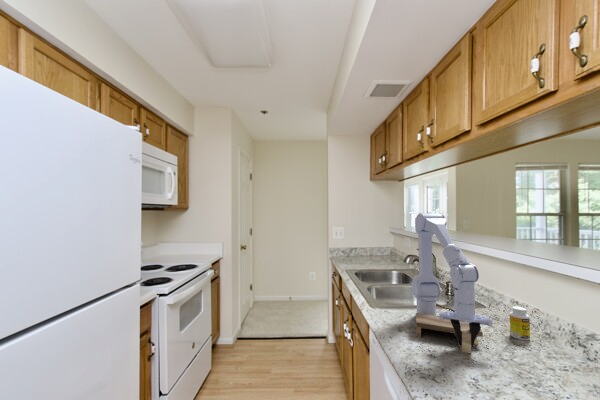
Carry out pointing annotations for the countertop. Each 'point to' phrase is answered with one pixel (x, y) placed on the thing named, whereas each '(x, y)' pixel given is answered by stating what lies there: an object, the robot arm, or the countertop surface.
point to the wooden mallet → (465, 340)
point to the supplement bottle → (519, 323)
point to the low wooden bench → (437, 324)
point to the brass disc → (476, 342)
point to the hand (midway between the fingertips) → (465, 344)
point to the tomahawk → (445, 307)
